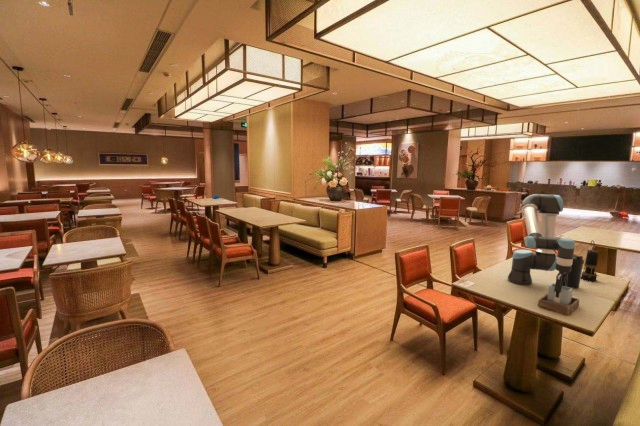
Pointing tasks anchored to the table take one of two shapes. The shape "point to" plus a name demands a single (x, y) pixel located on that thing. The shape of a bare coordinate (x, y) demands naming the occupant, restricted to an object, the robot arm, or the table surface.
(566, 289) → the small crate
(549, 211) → the robot arm
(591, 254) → the lantern
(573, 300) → the walnut crate
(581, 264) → the water bottle
